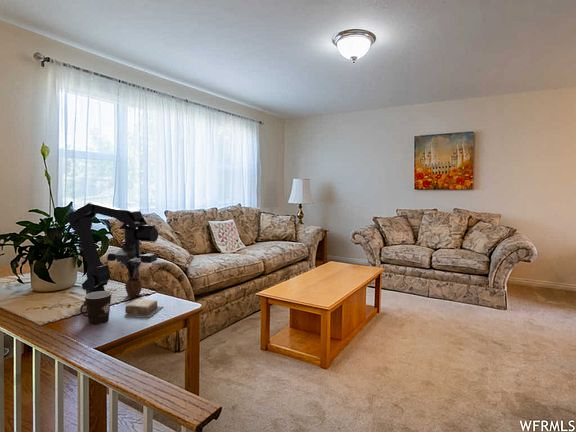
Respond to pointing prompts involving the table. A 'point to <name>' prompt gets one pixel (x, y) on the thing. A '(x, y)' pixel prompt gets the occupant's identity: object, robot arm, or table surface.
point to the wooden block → (141, 307)
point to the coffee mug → (97, 307)
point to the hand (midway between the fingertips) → (132, 277)
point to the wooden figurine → (133, 285)
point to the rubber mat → (146, 315)
